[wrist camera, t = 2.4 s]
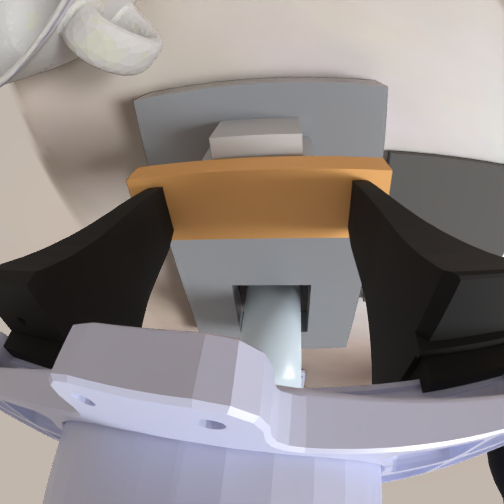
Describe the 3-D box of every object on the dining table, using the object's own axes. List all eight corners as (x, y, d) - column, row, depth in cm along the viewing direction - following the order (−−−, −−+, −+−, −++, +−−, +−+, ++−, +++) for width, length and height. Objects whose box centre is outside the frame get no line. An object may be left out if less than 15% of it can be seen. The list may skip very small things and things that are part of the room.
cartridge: (299, 307, 24) (299, 399, 18) (249, 307, 25) (238, 397, 18) (300, 270, 22) (303, 371, 15) (244, 270, 22) (229, 369, 16)
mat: (481, 290, 21) (483, 293, 21) (362, 297, 23) (363, 301, 23) (529, 169, 14) (532, 172, 14) (388, 150, 15) (390, 153, 15)
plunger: (362, 192, 15) (381, 237, 12) (170, 197, 16) (145, 240, 13) (367, 136, 13) (392, 170, 10) (158, 145, 14) (125, 180, 11)
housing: (343, 328, 25) (348, 374, 22) (208, 327, 27) (198, 371, 23) (375, 80, 13) (409, 97, 9) (148, 92, 14) (107, 114, 11)
